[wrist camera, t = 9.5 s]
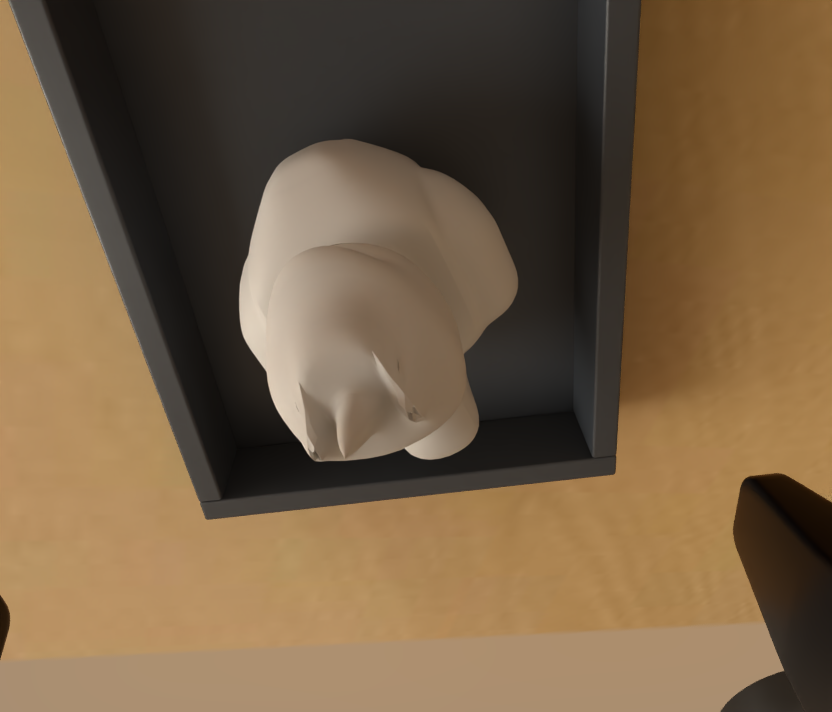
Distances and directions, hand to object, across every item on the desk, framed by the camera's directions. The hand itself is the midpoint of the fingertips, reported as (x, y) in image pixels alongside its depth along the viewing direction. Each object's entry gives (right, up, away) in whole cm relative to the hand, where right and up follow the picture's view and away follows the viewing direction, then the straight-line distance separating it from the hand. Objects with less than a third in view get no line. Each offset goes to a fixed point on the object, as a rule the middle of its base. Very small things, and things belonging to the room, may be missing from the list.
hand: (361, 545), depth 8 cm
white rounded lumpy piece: (0, +5, +8) cm, 9 cm away
